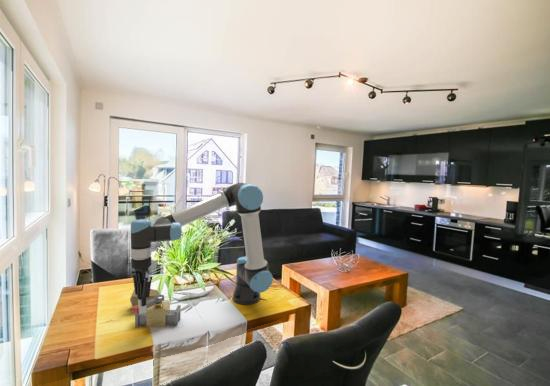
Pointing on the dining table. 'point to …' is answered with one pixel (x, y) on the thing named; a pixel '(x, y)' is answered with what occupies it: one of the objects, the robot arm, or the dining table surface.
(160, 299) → the lever
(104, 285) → the dining table surface
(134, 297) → the low-poly potato
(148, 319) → the valve
